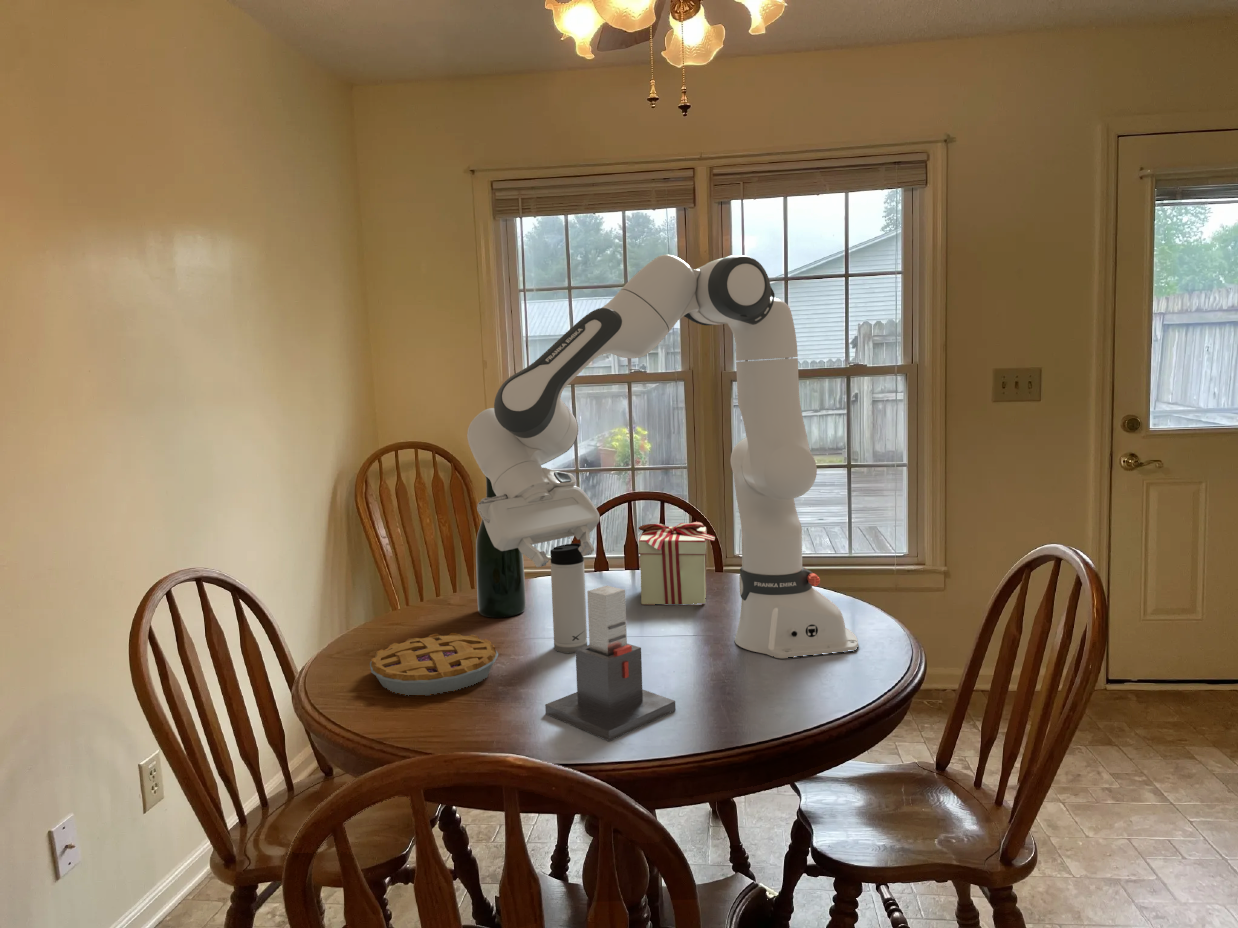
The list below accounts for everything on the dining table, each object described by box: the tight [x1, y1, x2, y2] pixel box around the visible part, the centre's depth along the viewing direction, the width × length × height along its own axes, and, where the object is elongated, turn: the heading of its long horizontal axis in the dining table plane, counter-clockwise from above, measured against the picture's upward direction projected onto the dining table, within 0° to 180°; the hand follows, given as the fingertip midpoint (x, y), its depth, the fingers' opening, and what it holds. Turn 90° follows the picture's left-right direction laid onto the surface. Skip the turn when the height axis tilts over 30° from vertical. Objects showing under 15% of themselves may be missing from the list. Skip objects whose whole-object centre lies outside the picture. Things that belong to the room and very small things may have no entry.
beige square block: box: [587, 585, 628, 657], centre depth 123 cm, size 4×4×17 cm
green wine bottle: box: [475, 475, 527, 619], centre depth 177 cm, size 10×10×33 cm
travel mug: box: [549, 542, 588, 654], centre depth 153 cm, size 6×7×20 cm
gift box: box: [638, 521, 716, 606], centre depth 184 cm, size 17×18×17 cm
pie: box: [369, 632, 499, 697], centre depth 142 cm, size 22×22×5 cm
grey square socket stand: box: [544, 643, 677, 742], centre depth 123 cm, size 14×14×11 cm
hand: (566, 558), depth 128 cm, fingers open, 8 cm apart
